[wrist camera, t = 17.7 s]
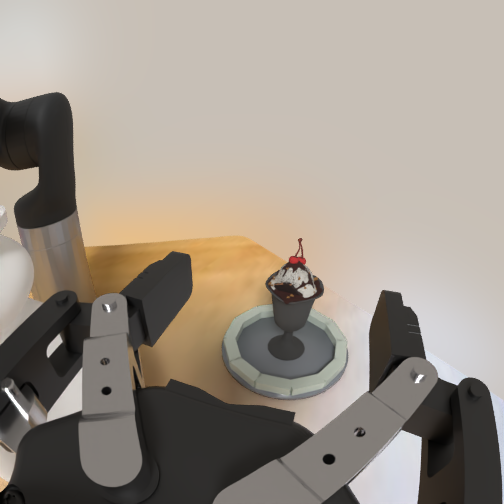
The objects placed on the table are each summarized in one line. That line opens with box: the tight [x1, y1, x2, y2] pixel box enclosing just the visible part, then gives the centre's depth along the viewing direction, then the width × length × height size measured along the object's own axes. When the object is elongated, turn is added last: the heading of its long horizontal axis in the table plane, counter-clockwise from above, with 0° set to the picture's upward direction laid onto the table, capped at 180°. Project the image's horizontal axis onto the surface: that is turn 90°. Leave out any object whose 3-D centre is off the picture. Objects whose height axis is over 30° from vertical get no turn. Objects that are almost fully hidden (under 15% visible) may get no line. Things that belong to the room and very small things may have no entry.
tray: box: [222, 304, 348, 400], centre depth 39 cm, size 17×17×2 cm
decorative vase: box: [0, 205, 82, 482], centre depth 17 cm, size 18×18×25 cm
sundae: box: [266, 238, 324, 361], centre depth 36 cm, size 7×7×15 cm
